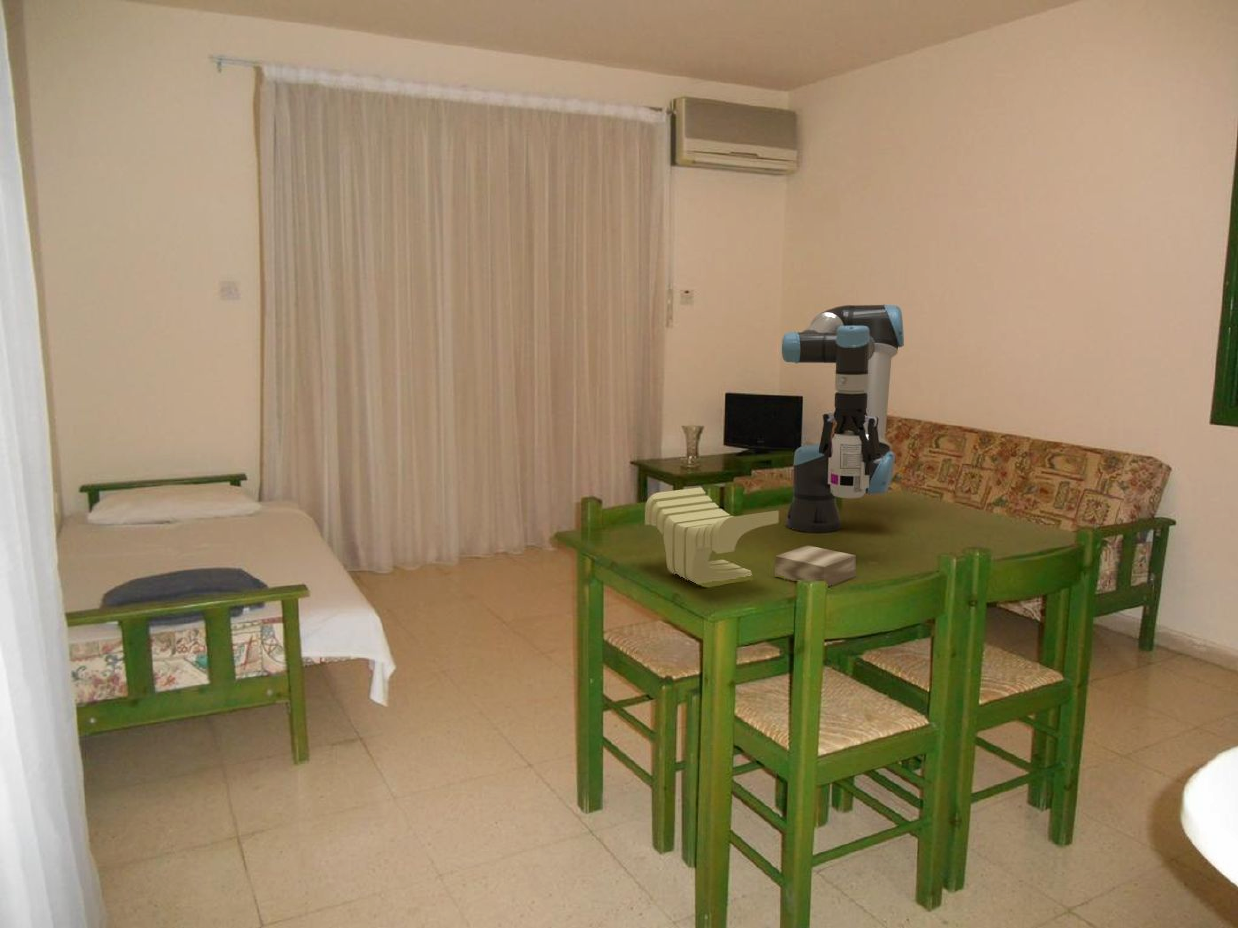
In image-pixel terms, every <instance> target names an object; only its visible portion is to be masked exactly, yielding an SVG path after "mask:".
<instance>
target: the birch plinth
mask: <svg viewBox="0 0 1238 928" xmlns="http://www.w3.org/2000/svg"><path fill="white" fill-rule="evenodd" d="M856 556H857V555H856V554H850V553H846V552H842V551H841V552H840V551H838V550H837V551H836V550H833V549H826V548H821V547H817V546H812V545H804V546H800V547H797V548H795V549H792V550H788V551H786V552H783V553H780V554H778V555H777V554H776V555H775V556H774V557H775V559H774V561H775V563H774V575H775V574H777V575H781V576H784V577H786V578H789V579H792V580H795V581H798V580H808V581H826V583H827V584H828V585H832V586H834V585H837V584H839V583H842V582H844V581H847V580H849V579H853V578H855V577H856V561H857V559H856V558H857V557H856Z"/></svg>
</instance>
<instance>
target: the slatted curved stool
mask: <svg viewBox="0 0 1238 928" xmlns="http://www.w3.org/2000/svg"><path fill="white" fill-rule="evenodd" d="M779 512H780V510H773V511H771V510H769V511H763V512H759V513H751V514H744V515H743V514H742V515H736V516H734V515H731V514H730V513H728V512H726V511H725V510H724V509H722V508H720V506H719V505H717V503H715V502H713V499H712V498H711V497H710V496H709V495H706V491H705V490H704V489H703V487H701V486H700V487H694V488H684V489H678V490H677V489H676V490H668V491H660V492H655V493H653V494H652V495H650V496H649V498H648V499H647V501H646V503H645V507H644V526H650V525H651V526H652V527H655V528H657V530H658V531H659V532H660V534H661V535H663V544H664V549H665V559H666V562H665V563H666V567H667V570H668V572H669V573H671V572H672V573H671V574H673V573H674V574H673V575H675V574H678V575H679V576H680V578H681V577H683V578H685V579H684V580H686V579H687V580H686V581H688V580H690V581H692V582H694V583H696V584H701V583H707V582H712V581H725V580H729V579H736V578H739V577H746V576H751V575H752V576H753V574H752V570H750V569H747V568H745V567H742V566H740V565H737V564H736V563H733V562H732V563H731V561H727V560H725V559H718V560H710V558H711V554H712V553H713V552H714V553H715V554H716V555H718V554H725V553H731V552H733V553H734V552H735V551H736V550H735V549H736V546H737V543H738V541H739V539H740V538H741V537H742V536H743V535H745V534H746V533H747V532H750V531H753V530H754V529H757V528H760V527H765V526H770V525H775V524H779V519H780V518H779V517H780V516H779V515H780V514H779ZM679 576H678V577H679ZM683 578H682V579H683ZM690 581H689V582H690ZM692 582H691V583H692ZM694 583H693V584H694ZM696 584H695V585H696Z"/></svg>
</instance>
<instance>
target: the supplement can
mask: <svg viewBox="0 0 1238 928" xmlns="http://www.w3.org/2000/svg"><path fill="white" fill-rule="evenodd" d="M832 437H833V436H832ZM832 437H831V439H832V450H831V486H830V492H831V493H832V494H833V496H836V498H841V499H857V498H858V499H859V498H862V497H864V495H865V494H867V493H866V489H860V475H861V462H863V461H864V458H863V456H862V453H861V440H860V438H859V436H855V435H854V433H853V432H852V431H845V432H844V433H841V434H836V433H835V435H834V437H833V438H832Z"/></svg>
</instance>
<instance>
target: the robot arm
mask: <svg viewBox="0 0 1238 928" xmlns="http://www.w3.org/2000/svg"><path fill="white" fill-rule="evenodd" d="M904 337H905V336H904V324H903V314H902V309H901V308H900V307H899V306H898V305H892V304H891V305H890V304H884V303H883V304H878V305H877V304H869V305H868V304H865V305H859V304H857V305H855V304H854V305H851V304H848V305H840V306H836V307H832V308H830V309H827V310H825V311H822V312H821V313H819V314H817V315H816V316H815V317H813V319H812V320H811V322H810V324H809V326H807V327H806V328H805V329H804V330H802V331H801V332H797V331H793V332H786V333H785V334H784V335H783V338H782V342H781V356H782V359H783V361H784V362H785V363H795V364H799V363H800V364H801V363H802V364H803V363H804V364H805V363H806V364H807V363H808V364H810V363H813V364H815V363H816V364H817V363H819V364H820V363H821V364H835V373H834V374H835V376H834V377H835V379H834V380H835V381H834V389H835V391H836V392H835V393H834V405H833V406H834V408H835V409H834V411H833V413H831V412H829V413H824V414H823V415H822V420H823V425H822V429H821V430H822V431H821V436H820V442H819V443H813V444H806V445H803V446H800V447H797V449H796V450H795V452H794V457H793V464H792V466H793V485H792V487H793V489H792V490H793V491H792V495H793V496H792V501H791V504H790V507H789V509H788V511H787V512H788V513H787V514H786V515H787V516H786V520H785V521H786V522H785V525H787V526H788V527H789V528H788V527H787V526H786V527H787V528H788V529H790V528H794V529H797V530H801V531H800V532H803V531H805V533H806V532H807V533H830V532H836V531H839V530H840V529H841V528H842V518H841V515H840V511H839V508H838V504H837V501H836V500H837V499H836V498H837V497H836V496H833V494H832V493H831V492H830V486H831V450H832V438H833V437H834V435H835V433H836V434H841V433H844V432H847V431H848V432H853V433H854V435H855V436H859V438H860V440H861V453H862V456H863V458H864V461H863V462H861V475H860V489H866V493H865V494H867V495H872V494H873V495H882V494H885V493H887V491H888V490H889V488H890V485H891V482H892V478H893V475H894V469H895V463H896V460H895V459H896V453H895V452H894V451H891V444H890V443H888V442H887V441H886V429H887V418H888V416H887V415H888V405H889V394H890V393H889V392H890V383H891V381H890V379H891V367H892V359H893V358H895V356H897V355H898V353H899V352H898V351H899V348H902V347H904V346H905V338H904ZM834 422H836V425H835V428H834V429H833V427H834ZM833 430H834V433H833V434H832V432H833ZM797 530H796V531H797Z"/></svg>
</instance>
